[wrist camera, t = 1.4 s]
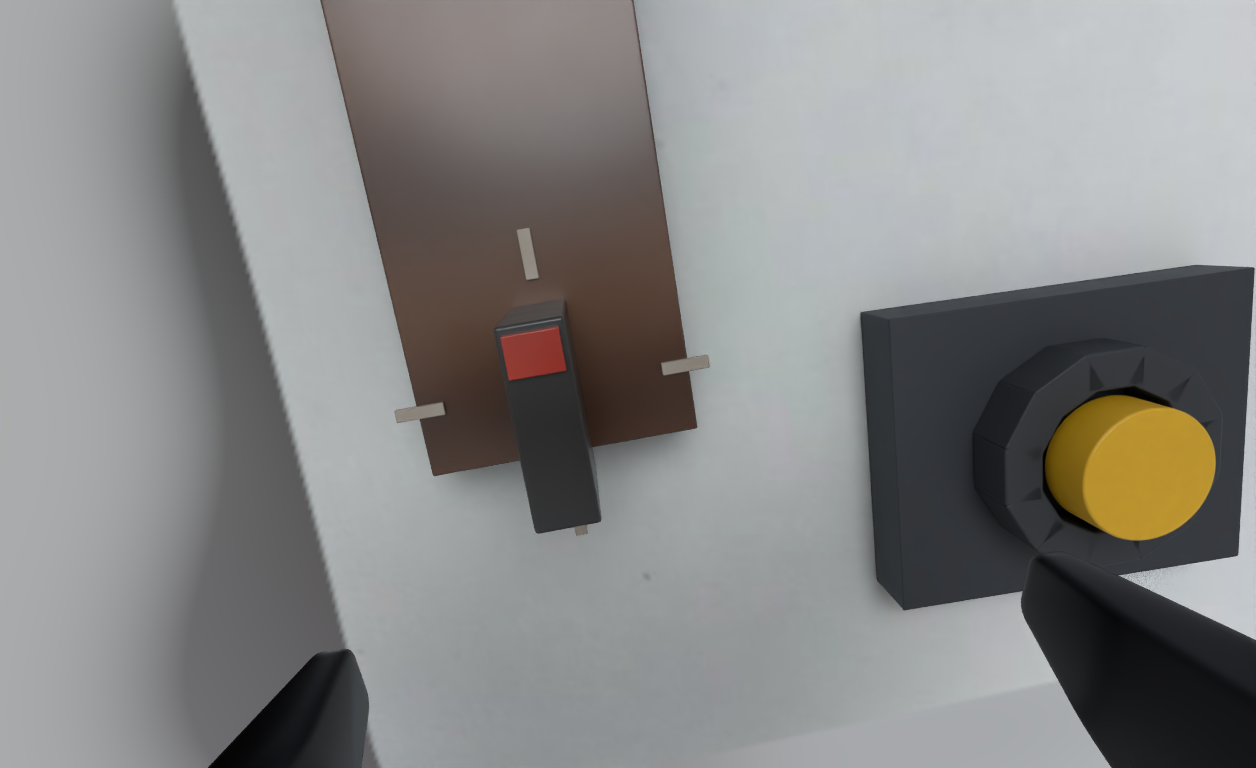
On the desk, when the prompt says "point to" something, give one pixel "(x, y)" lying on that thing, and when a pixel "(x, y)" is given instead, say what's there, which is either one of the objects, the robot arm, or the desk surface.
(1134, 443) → the trigger button
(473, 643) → the desk surface
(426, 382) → the panel
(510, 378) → the black box red panel
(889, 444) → the black button base
